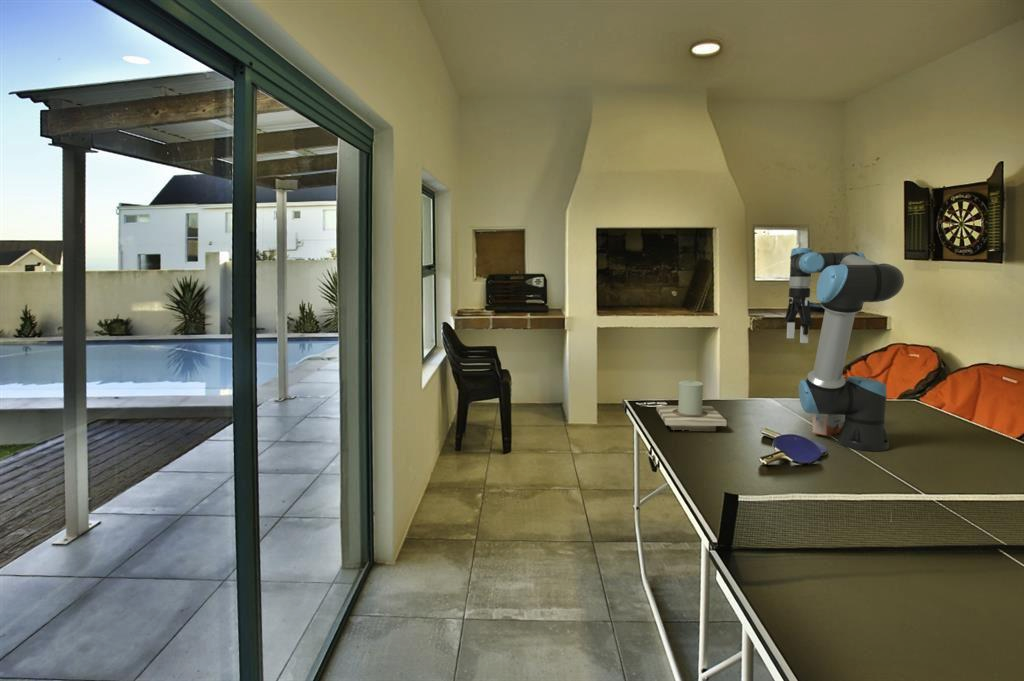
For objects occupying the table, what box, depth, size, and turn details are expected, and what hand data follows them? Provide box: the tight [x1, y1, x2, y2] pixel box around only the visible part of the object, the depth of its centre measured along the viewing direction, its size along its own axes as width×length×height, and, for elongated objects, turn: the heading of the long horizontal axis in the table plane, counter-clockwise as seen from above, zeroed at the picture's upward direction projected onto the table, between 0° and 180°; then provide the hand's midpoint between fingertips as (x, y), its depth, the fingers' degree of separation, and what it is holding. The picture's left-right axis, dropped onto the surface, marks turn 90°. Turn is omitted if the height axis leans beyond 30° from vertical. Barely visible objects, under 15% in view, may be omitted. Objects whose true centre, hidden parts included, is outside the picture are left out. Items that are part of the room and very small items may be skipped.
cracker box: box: [811, 375, 848, 437], centre depth 210 cm, size 14×6×21 cm, turn 126°
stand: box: [656, 405, 727, 432], centre depth 225 cm, size 22×22×5 cm
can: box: [677, 380, 704, 415], centre depth 224 cm, size 9×9×12 cm
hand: (796, 340), depth 230 cm, fingers open, 13 cm apart
